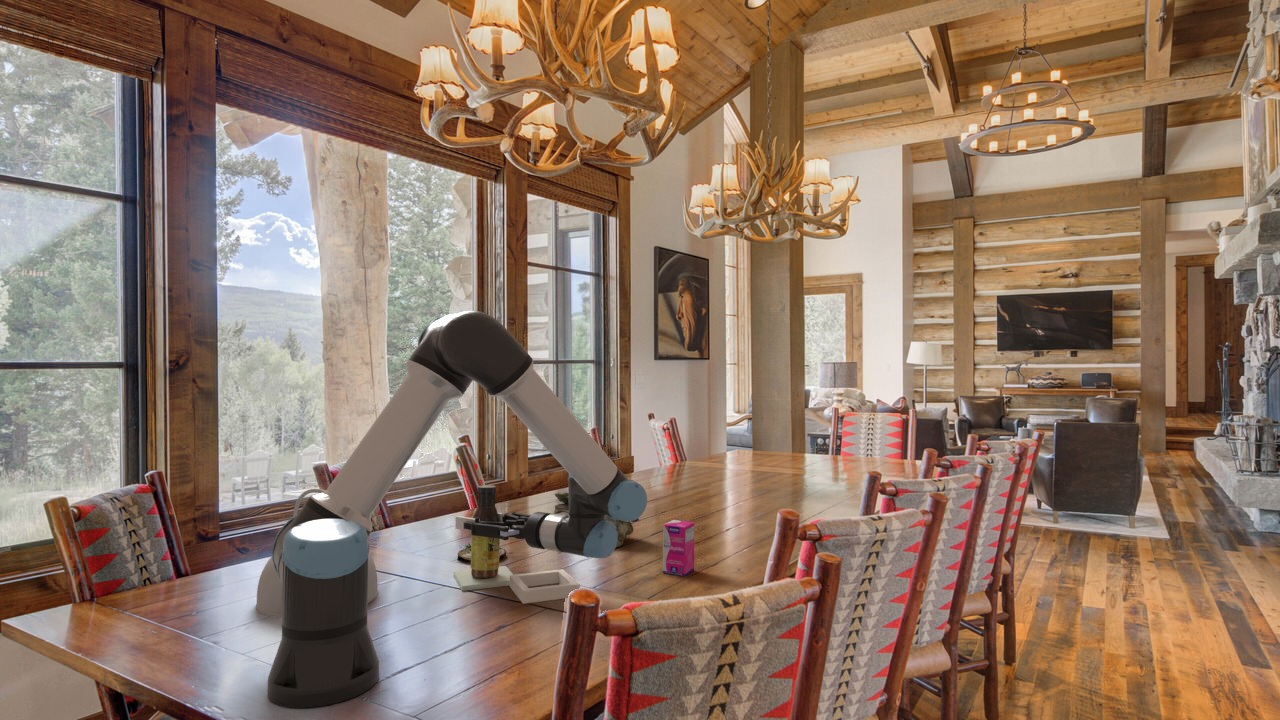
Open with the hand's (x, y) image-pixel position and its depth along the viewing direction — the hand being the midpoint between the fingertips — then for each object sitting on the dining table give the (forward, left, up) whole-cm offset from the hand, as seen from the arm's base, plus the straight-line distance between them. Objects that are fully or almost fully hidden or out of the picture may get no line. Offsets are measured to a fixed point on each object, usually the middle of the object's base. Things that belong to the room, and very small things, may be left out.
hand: (469, 519), depth 159 cm
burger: (+6, +15, -13) cm, 21 cm away
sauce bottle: (+3, -4, -12) cm, 13 cm away
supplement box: (+46, -15, -13) cm, 50 cm away
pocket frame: (+13, -17, -13) cm, 25 cm away
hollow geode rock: (+38, +23, -13) cm, 47 cm away
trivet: (+3, -4, -13) cm, 14 cm away
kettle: (-30, -5, -13) cm, 33 cm away
